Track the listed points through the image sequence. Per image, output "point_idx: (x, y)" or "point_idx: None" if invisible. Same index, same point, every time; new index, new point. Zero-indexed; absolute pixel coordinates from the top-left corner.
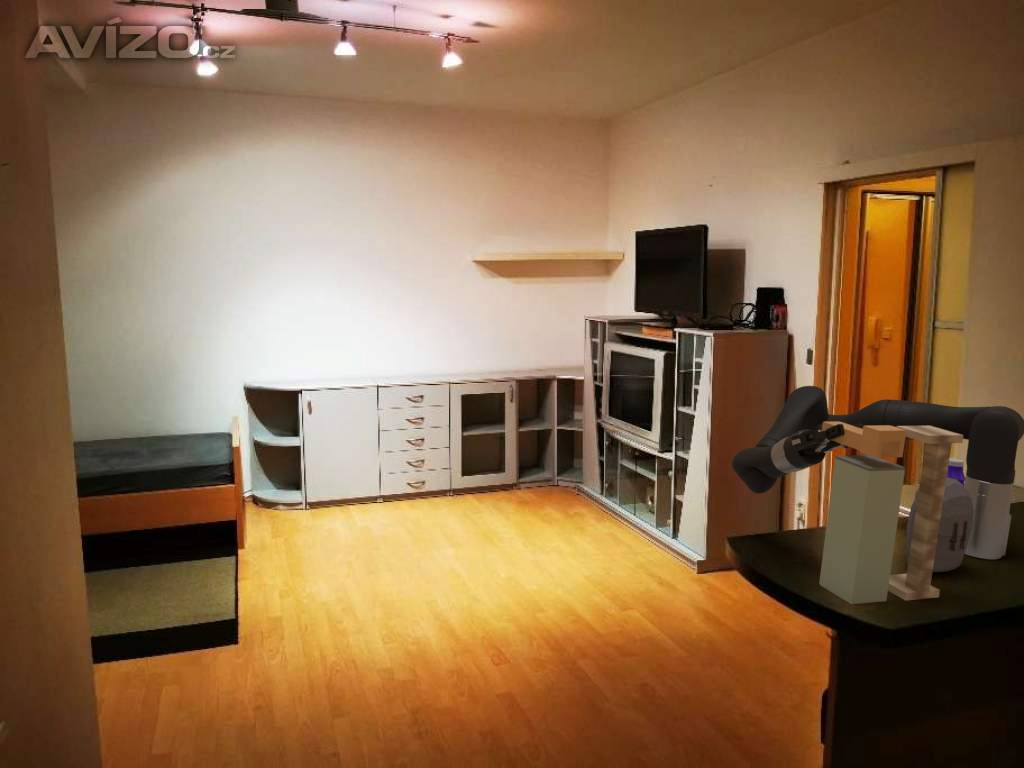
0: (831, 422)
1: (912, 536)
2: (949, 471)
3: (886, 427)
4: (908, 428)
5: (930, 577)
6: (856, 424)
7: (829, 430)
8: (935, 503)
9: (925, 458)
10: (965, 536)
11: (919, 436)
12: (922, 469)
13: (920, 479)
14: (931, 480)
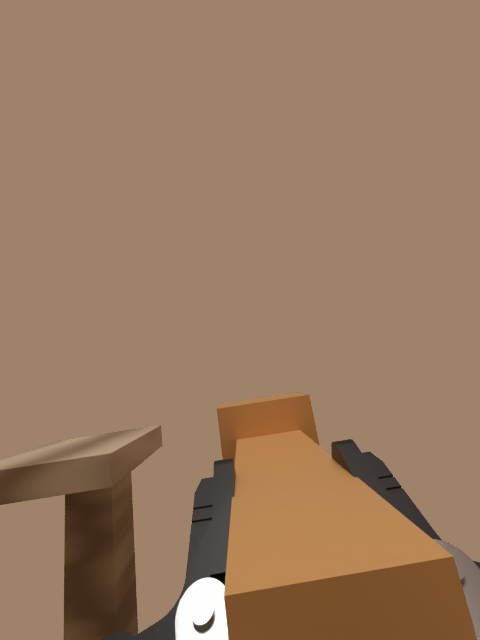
0: (355, 544)
1: None
2: None
3: (251, 401)
4: (115, 444)
5: None
6: (233, 469)
7: (408, 505)
8: None
9: (116, 519)
10: None
11: (151, 440)
12: (114, 563)
13: (115, 603)
14: (131, 564)
